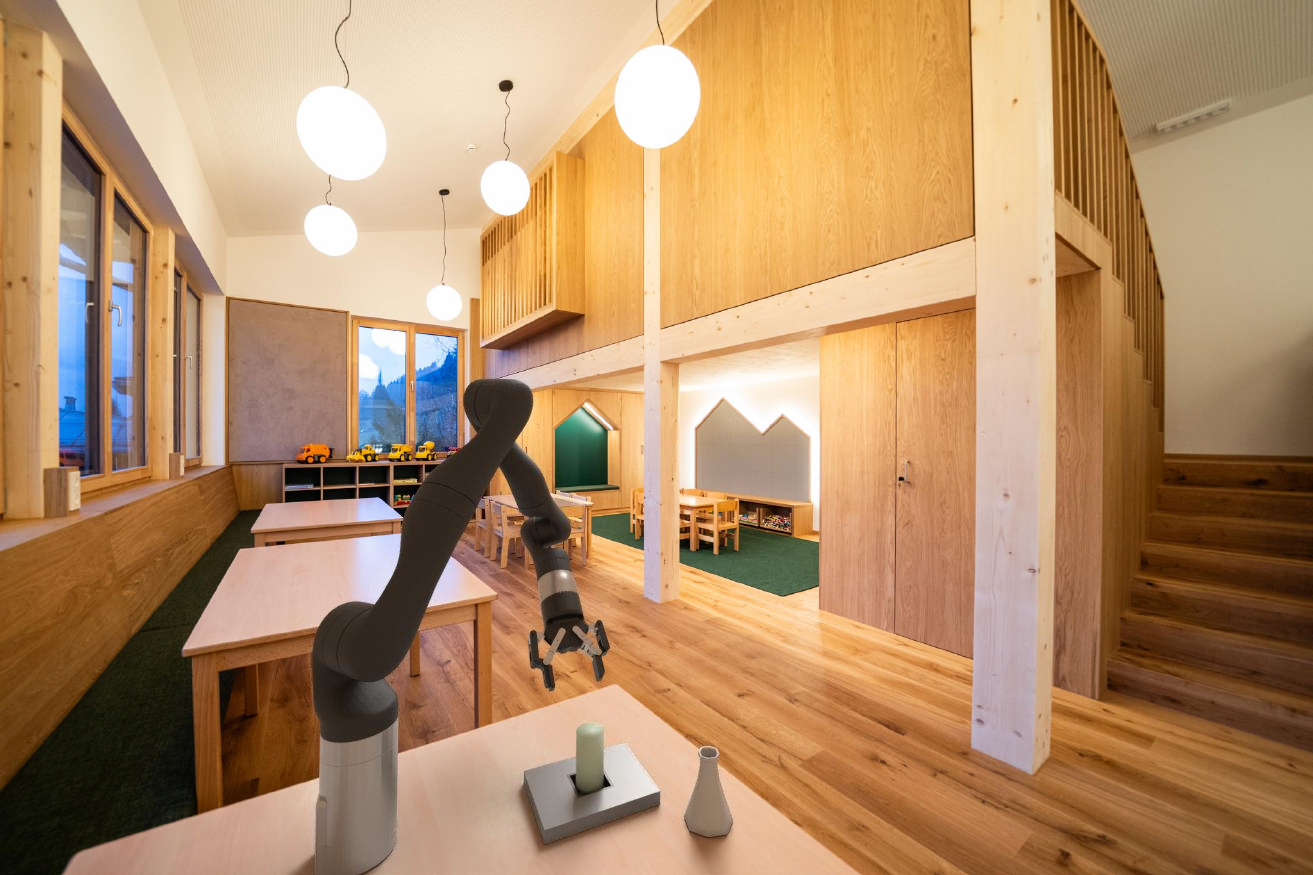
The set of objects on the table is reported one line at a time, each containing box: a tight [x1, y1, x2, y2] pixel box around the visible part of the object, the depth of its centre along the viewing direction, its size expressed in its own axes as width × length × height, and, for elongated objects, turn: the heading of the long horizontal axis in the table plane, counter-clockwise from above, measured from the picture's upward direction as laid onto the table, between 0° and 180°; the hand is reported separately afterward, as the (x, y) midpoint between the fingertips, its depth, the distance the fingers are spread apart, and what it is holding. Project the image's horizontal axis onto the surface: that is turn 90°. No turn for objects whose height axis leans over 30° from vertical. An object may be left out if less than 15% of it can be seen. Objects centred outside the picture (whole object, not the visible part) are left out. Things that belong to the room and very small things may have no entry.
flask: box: [683, 745, 734, 838], centre depth 74 cm, size 7×7×10 cm
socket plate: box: [523, 742, 661, 846], centre depth 79 cm, size 18×14×2 cm
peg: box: [575, 721, 605, 796], centre depth 79 cm, size 4×4×10 cm
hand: (576, 684), depth 86 cm, fingers open, 8 cm apart
